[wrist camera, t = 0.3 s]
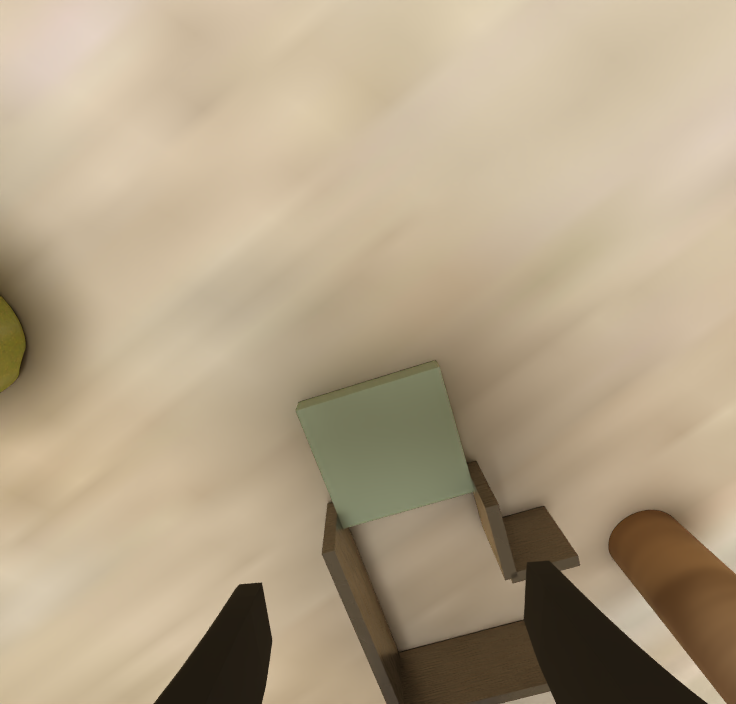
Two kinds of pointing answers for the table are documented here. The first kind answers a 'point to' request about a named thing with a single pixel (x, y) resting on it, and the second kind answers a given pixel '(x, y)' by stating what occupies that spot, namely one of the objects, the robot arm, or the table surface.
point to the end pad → (387, 444)
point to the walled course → (462, 654)
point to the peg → (683, 590)
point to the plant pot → (10, 345)
